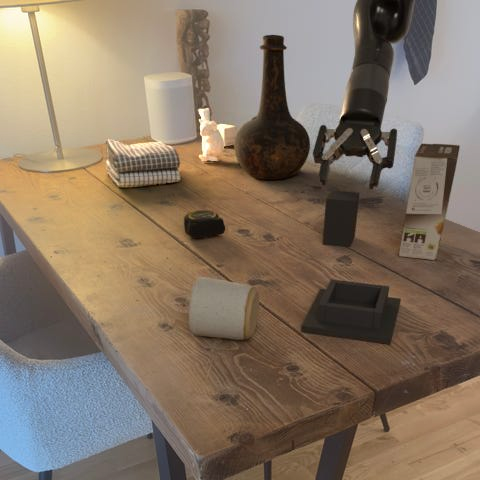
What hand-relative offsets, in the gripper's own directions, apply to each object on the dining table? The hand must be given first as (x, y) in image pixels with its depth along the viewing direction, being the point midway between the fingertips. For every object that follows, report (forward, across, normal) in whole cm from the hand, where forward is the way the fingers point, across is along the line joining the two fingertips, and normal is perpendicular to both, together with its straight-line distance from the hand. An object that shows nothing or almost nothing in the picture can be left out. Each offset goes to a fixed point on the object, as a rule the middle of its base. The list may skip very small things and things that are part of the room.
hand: (347, 185), depth 100 cm
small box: (-36, -45, +49) cm, 76 cm away
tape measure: (+12, -24, 0) cm, 27 cm away
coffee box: (+9, +14, +3) cm, 17 cm away
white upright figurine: (-24, -43, +36) cm, 61 cm away
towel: (-11, -53, +23) cm, 59 cm away
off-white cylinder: (+35, -9, -22) cm, 42 cm away
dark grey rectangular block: (+9, 0, +3) cm, 9 cm away
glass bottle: (-18, -24, +30) cm, 42 cm away
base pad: (+29, +7, -17) cm, 34 cm away
